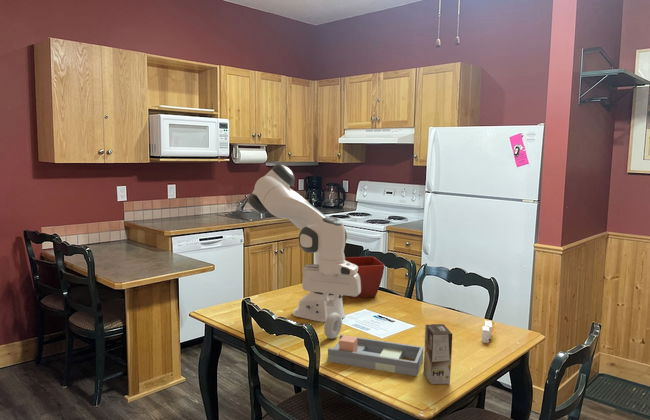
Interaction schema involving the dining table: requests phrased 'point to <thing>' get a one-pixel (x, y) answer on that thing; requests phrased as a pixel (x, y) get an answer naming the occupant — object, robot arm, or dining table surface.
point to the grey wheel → (332, 325)
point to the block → (348, 343)
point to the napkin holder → (486, 332)
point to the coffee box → (437, 353)
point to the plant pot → (368, 275)
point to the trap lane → (380, 356)
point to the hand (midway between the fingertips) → (330, 305)
